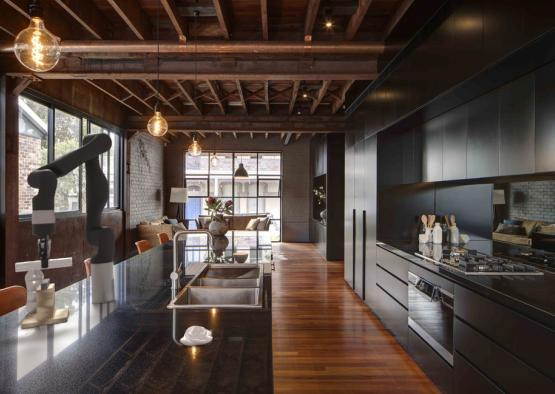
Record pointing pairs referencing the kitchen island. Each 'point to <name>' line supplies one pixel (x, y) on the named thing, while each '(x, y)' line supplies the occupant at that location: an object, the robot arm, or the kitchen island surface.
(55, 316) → the balance stand
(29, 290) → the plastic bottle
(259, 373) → the kitchen island surface
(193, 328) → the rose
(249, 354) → the kitchen island surface
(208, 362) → the kitchen island surface
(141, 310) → the kitchen island surface
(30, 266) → the aluminium bar
